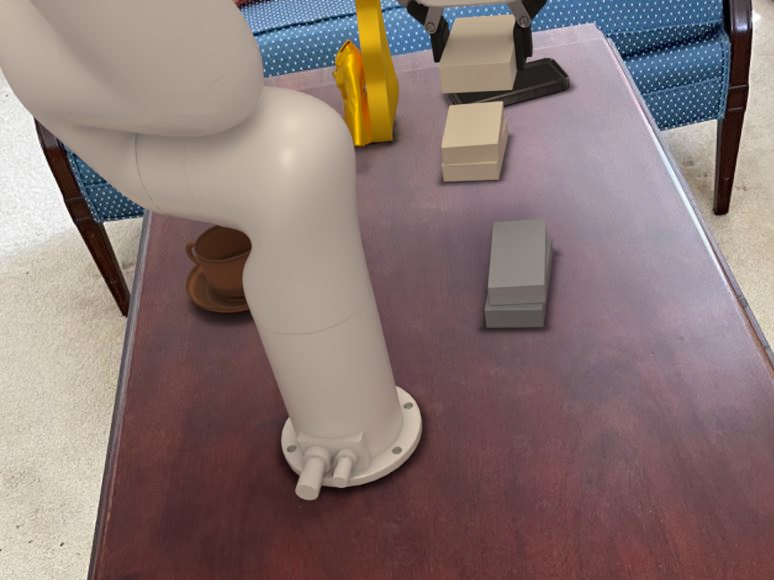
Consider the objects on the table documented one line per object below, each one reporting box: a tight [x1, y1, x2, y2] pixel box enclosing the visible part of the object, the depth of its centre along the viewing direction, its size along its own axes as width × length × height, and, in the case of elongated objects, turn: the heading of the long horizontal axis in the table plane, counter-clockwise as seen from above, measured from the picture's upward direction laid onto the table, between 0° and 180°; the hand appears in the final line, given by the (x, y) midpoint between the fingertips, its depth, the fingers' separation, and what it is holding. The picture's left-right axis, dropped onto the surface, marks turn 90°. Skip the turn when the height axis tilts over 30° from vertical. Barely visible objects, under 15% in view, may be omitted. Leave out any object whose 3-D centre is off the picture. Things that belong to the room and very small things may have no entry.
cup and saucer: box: [184, 224, 252, 314], centre depth 99 cm, size 12×12×6 cm
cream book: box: [437, 13, 517, 94], centre depth 89 cm, size 10×7×3 cm, turn 171°
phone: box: [447, 57, 570, 106], centre depth 124 cm, size 8×1×15 cm
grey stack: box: [483, 218, 554, 329], centre depth 94 cm, size 12×6×4 cm, turn 172°
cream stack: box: [440, 101, 509, 183], centre depth 112 cm, size 10×7×4 cm
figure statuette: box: [331, 0, 400, 148], centre depth 113 cm, size 18×8×22 cm, turn 5°
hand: (484, 64), depth 90 cm, fingers closed on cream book, 6 cm apart
